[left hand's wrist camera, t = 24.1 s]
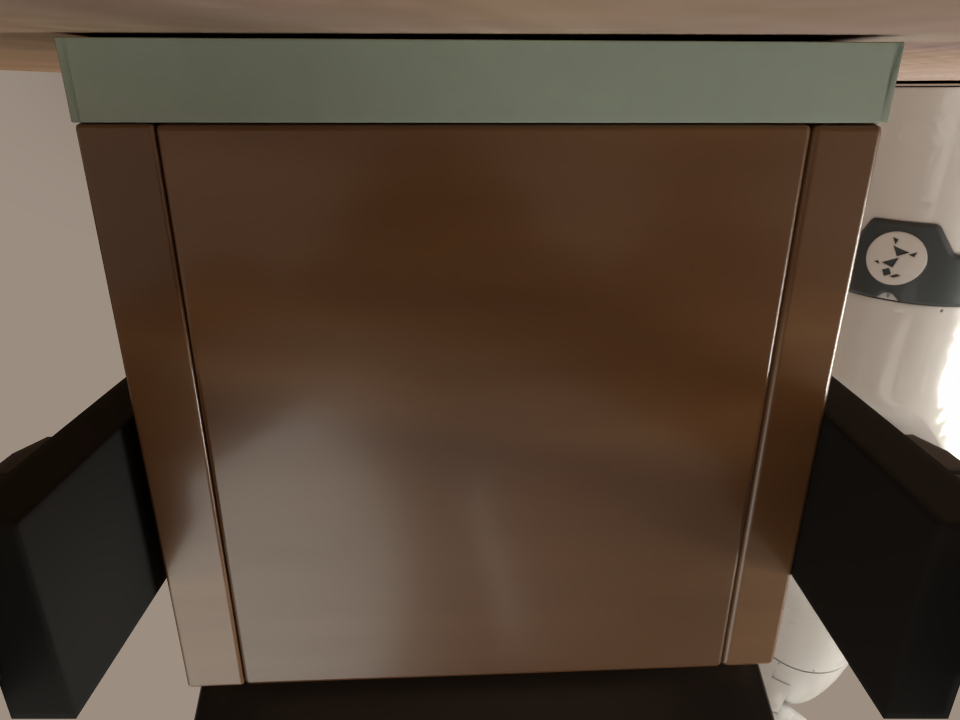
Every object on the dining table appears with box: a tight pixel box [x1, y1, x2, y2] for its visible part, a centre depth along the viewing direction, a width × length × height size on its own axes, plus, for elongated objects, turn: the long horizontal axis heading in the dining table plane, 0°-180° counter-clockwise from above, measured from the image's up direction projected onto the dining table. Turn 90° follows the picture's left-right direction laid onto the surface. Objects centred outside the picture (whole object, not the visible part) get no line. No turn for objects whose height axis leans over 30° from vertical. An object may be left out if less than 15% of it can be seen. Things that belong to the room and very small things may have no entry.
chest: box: [55, 37, 904, 687], centre depth 16 cm, size 15×9×9 cm, turn 177°
